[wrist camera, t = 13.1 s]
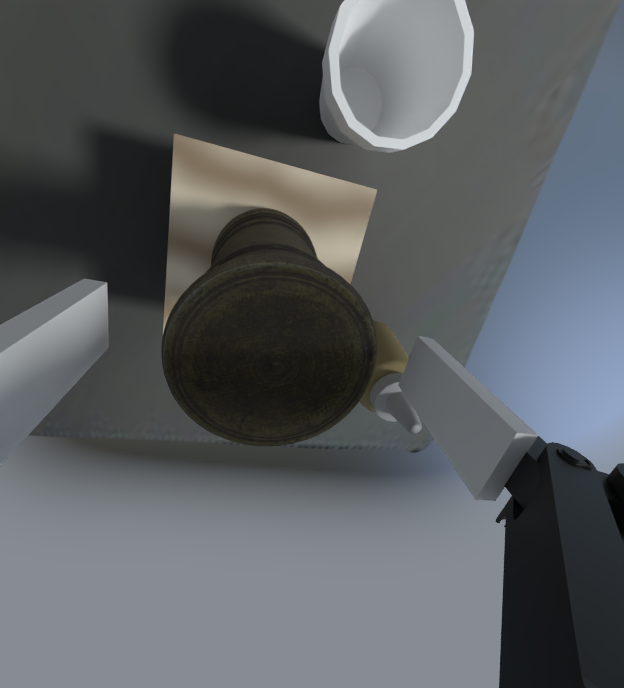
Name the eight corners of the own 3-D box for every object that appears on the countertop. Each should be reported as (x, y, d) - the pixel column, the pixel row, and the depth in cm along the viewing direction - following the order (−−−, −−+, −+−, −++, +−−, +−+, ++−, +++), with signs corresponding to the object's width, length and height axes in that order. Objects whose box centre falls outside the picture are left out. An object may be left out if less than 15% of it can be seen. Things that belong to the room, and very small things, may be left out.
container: (271, 184, 26) (293, 185, 10) (335, 272, 30) (424, 375, 14) (188, 256, 27) (89, 357, 11) (259, 331, 31) (260, 486, 15)
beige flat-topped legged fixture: (195, 146, 32) (174, 133, 24) (350, 188, 35) (377, 189, 27) (183, 302, 38) (163, 333, 30) (315, 324, 42) (329, 357, 34)
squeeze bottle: (390, 356, 45) (462, 449, 29) (333, 371, 45) (375, 474, 29) (382, 302, 42) (460, 375, 26) (321, 319, 41) (361, 403, 25)
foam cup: (321, 175, 34) (353, 170, 23) (288, 69, 30) (306, -2, 19) (406, 139, 34) (482, 115, 22) (384, 27, 30) (463, -73, 18)
